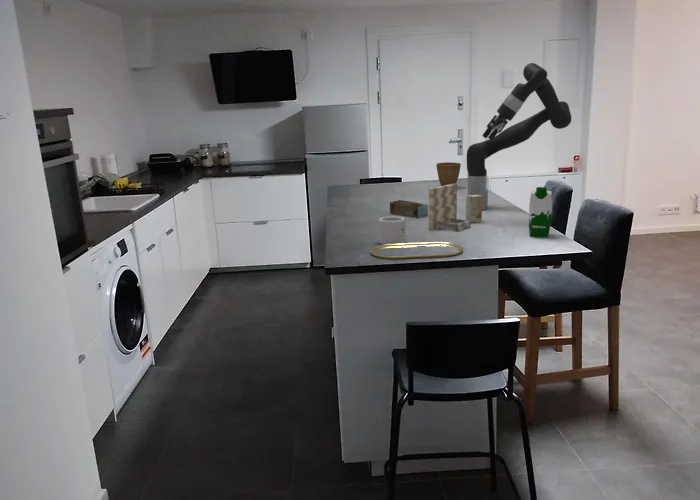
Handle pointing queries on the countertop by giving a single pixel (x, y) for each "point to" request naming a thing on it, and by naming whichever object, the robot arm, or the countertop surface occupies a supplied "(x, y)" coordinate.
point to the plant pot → (448, 172)
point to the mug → (391, 230)
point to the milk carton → (540, 212)
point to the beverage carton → (408, 209)
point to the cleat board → (445, 209)
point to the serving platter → (415, 246)
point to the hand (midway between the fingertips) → (487, 138)
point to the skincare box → (474, 208)
